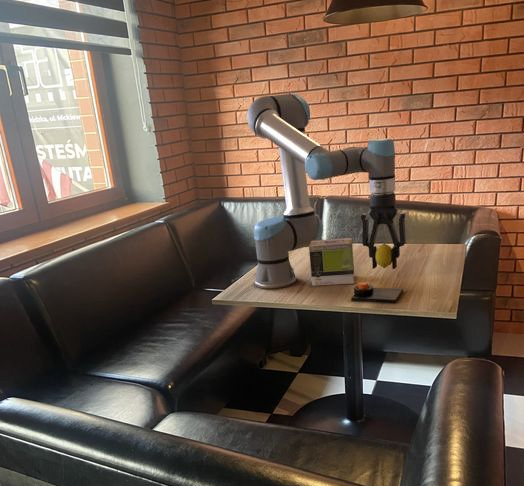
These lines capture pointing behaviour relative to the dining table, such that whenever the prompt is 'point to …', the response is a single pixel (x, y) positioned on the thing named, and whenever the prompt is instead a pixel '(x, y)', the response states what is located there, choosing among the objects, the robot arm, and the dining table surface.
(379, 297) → the scale
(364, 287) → the button
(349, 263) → the tea box
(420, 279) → the dining table surface
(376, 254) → the lemon
